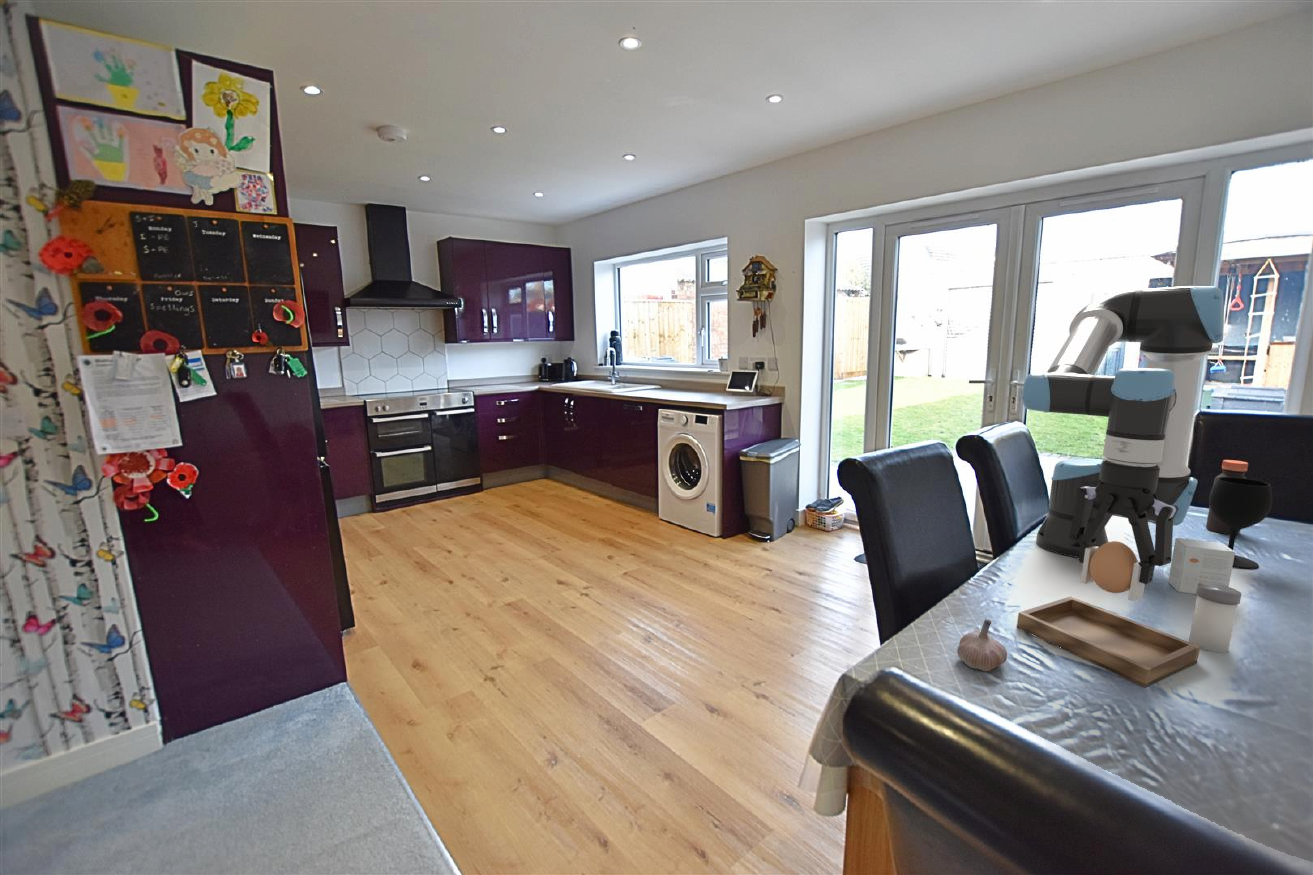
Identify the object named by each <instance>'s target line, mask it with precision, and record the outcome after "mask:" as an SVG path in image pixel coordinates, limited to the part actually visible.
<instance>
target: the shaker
mask: <svg viewBox="0 0 1313 875" xmlns="http://www.w3.org/2000/svg"><path fill="white" fill-rule="evenodd" d="M1195 595H1197V596H1196V600H1195V606H1194V611H1193V616H1192V621H1191V622H1192V623H1191V628H1190V633H1189V638H1188V642H1190V643H1192V644H1195V645H1198V646H1200V649H1203V650H1205V651H1209V652H1212V653H1218V654H1226V653H1229V650H1230V644H1231V641H1232V640H1231V639H1232V636H1233V635H1232V634H1233V630H1234V625H1235V622H1236V621H1235V620H1236V615H1237V610H1238V605H1240V603H1241V600H1242V595H1243V594H1242V592H1241V591H1240V590H1238V589H1235V588H1232V587H1231V586H1229V587H1228V586H1224V585H1220V584H1215V583H1208V582H1201V583H1198V586H1197V591H1196V594H1195Z"/></svg>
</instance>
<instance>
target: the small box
mask: <svg viewBox="0 0 1313 875" xmlns="http://www.w3.org/2000/svg"><path fill="white" fill-rule="evenodd" d="M1235 555H1236V552H1235V551H1234V549H1233V550H1231V549H1230V548H1229V547H1228V545H1226V544H1224V543H1223V542H1216V541H1207V540H1197V539H1191V538H1190V539H1189V538H1180V537H1175V539H1174V544H1173V549H1172V559H1171V563H1170V570H1169V573H1168V574H1169V575H1168V583H1169V584H1170V585H1171V586H1172V587H1173V588H1174V589H1175V590H1176V591H1177V592H1179V593H1184V594H1191V595H1197V594H1196V591H1197V586H1198V583H1201V582H1208V583H1215V584H1220V585H1224V586H1228V587H1230V580H1231V577H1232V572H1233V570H1232V569H1233V567H1232V566H1233V561H1234V556H1235Z"/></svg>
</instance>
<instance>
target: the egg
mask: <svg viewBox="0 0 1313 875" xmlns="http://www.w3.org/2000/svg"><path fill="white" fill-rule="evenodd" d="M1137 562H1139V560H1138V558H1137V556H1136V554H1135V552H1134V551H1133V549H1132V548H1131V547H1129V546H1128V545H1127V544H1125V543H1123V542H1121V541H1117V540H1116V541H1115V540H1114V541H1108V543H1105V544H1103V545H1102V546H1100V547H1099V548H1098V549H1097V550H1096V552H1095V553H1094V554H1093V556H1092V558H1091V562H1090V574H1091V577H1092V579H1093V580H1094V581H1093V582H1094V583H1095V584H1096V585H1097V586H1098V587H1099V588H1100V589H1102V590H1103V591H1105V592H1107V593H1112V594H1120V593H1124V592H1126V591H1130V586H1131V580H1132V574H1133V568H1134V563H1137Z"/></svg>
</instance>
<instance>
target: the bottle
mask: <svg viewBox="0 0 1313 875" xmlns="http://www.w3.org/2000/svg"><path fill="white" fill-rule="evenodd" d="M1248 467H1249V463H1248V462H1247V461H1241V460H1235V459H1234V460H1232V459H1223V460H1222V465H1221V468H1222V469H1221V470H1222V473H1220V474H1219V475H1216V476H1215V477H1214V481H1213V485H1214V484H1215V482H1216V480H1217V479H1218V478H1219V477H1235V478H1244V479H1248V478H1247V477H1246V476H1245V474H1247V472H1248ZM1208 508H1209V509H1208V512H1207V513H1208V514H1207V518H1206V525H1205V527H1206V529H1207V530H1208V531H1211V532H1213V533H1214V532H1215V533H1217V534H1218V533H1219V534H1223V535H1224V534H1225V535H1230V530H1229V528H1228V527H1227V526H1226V525H1224V524H1223V523H1222V522H1221V521H1220V520H1218V519H1217V517H1216V516H1215V515H1214V514H1213V512H1212V511H1211V508H1210V506H1209V507H1208ZM1240 533H1241V530H1239V531H1238V533H1237V535H1239V534H1240Z"/></svg>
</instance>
